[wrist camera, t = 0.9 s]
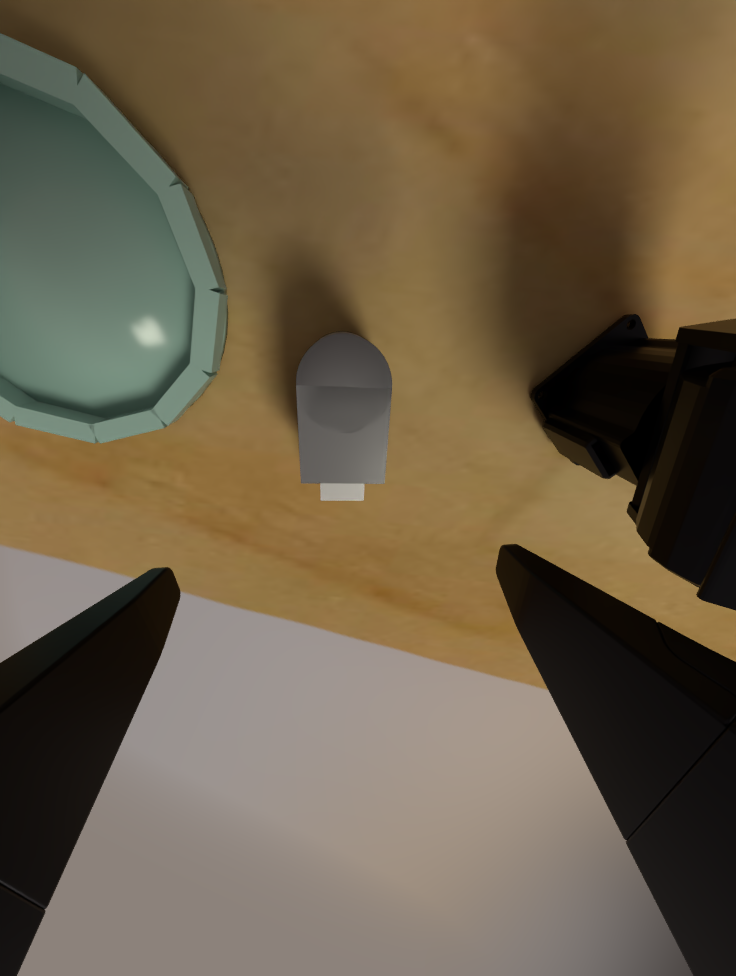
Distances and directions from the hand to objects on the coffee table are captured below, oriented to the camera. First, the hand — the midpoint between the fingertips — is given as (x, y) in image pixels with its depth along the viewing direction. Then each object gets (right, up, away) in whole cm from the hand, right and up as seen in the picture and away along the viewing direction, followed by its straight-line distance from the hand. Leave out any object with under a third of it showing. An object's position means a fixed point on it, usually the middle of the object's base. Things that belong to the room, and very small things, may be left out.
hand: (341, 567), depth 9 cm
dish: (-13, +12, +6) cm, 19 cm away
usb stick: (-1, +7, +10) cm, 12 cm away
